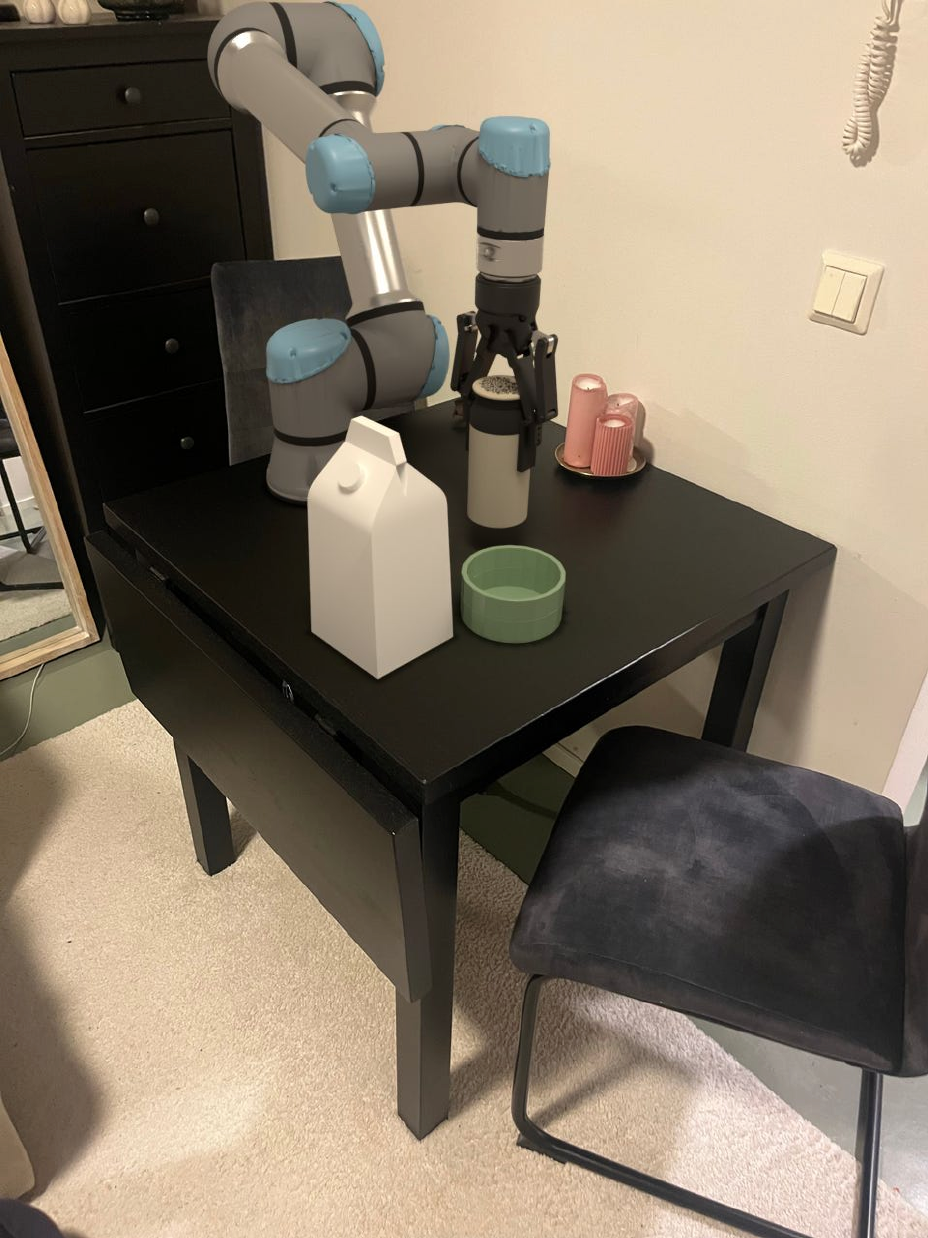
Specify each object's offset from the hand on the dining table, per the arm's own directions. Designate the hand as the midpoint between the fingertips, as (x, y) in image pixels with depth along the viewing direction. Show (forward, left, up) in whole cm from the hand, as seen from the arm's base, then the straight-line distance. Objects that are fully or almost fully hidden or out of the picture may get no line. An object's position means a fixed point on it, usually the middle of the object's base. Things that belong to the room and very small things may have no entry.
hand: (499, 457), depth 115 cm
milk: (+4, -25, -13) cm, 28 cm away
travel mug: (0, 0, -9) cm, 9 cm away
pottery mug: (-25, +27, -13) cm, 39 cm away
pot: (+12, -11, -13) cm, 21 cm away
